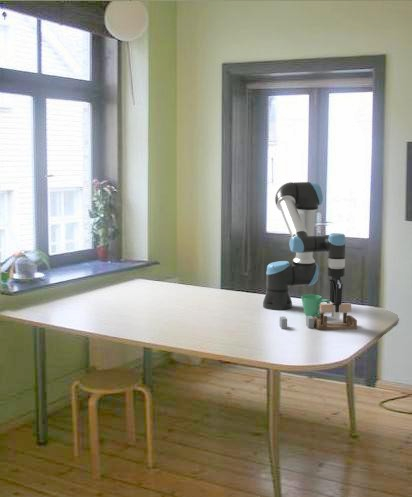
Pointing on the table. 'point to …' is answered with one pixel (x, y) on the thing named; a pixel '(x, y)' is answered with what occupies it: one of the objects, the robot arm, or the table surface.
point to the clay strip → (329, 306)
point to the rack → (335, 323)
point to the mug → (312, 304)
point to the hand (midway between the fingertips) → (335, 317)
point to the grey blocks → (308, 322)
